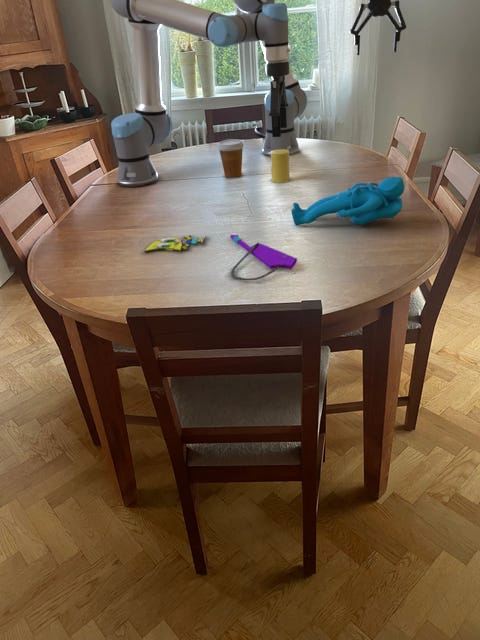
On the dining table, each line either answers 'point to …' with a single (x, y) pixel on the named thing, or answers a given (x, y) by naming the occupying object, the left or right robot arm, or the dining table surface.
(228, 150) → the disposable coffee cup
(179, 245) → the toy
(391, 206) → the toy
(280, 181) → the can
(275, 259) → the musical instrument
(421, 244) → the dining table surface
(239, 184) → the dining table surface
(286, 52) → the left robot arm
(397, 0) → the right robot arm
